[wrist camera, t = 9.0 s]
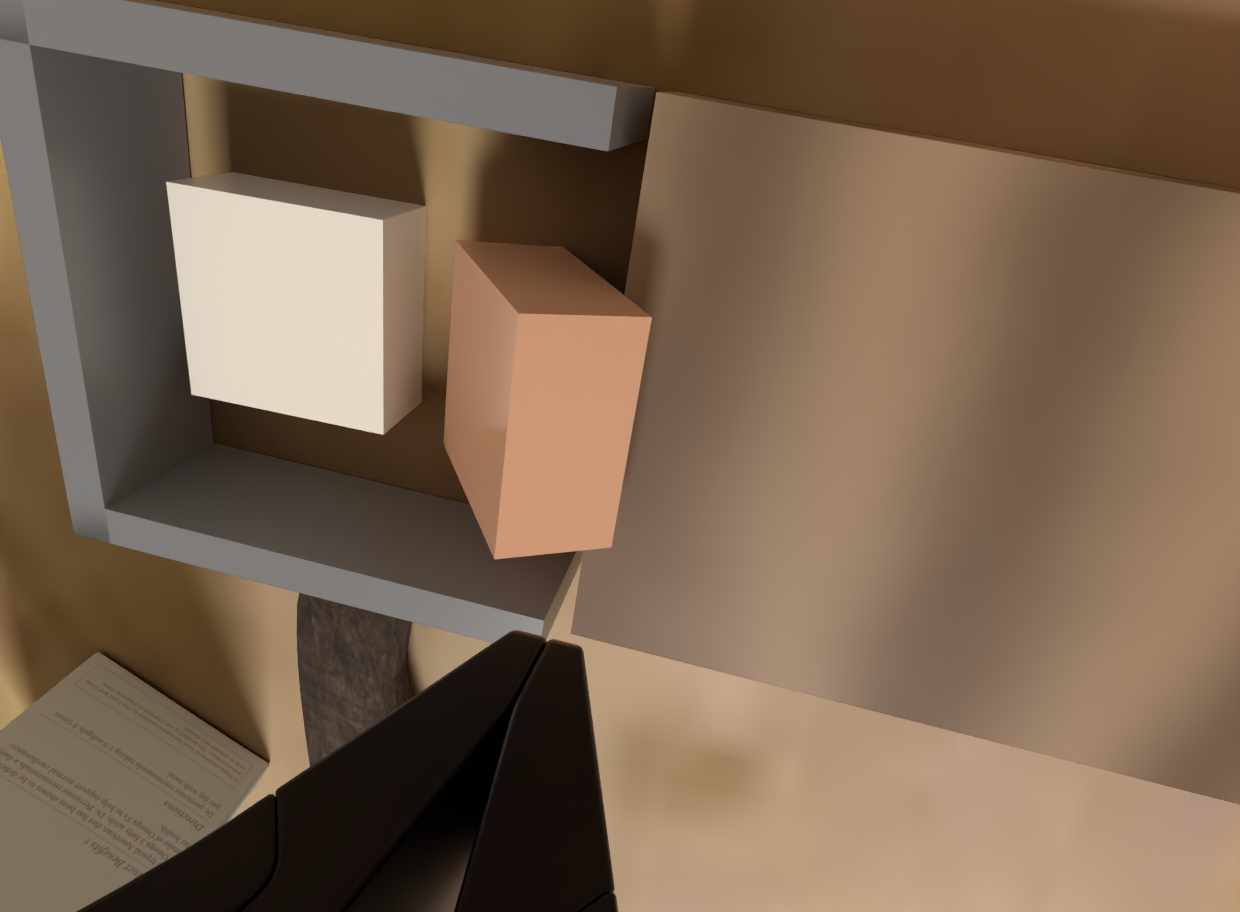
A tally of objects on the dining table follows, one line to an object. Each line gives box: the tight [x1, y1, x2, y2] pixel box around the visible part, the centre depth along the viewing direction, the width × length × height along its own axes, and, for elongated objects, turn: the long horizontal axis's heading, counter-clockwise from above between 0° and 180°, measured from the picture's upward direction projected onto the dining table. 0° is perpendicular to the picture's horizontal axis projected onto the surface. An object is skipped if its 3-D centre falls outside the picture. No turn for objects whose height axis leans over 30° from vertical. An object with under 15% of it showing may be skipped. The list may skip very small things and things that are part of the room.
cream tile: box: [166, 172, 426, 435], centre depth 19 cm, size 5×5×2 cm
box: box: [0, 0, 655, 643], centre depth 18 cm, size 12×12×4 cm
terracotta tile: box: [443, 240, 652, 559], centre depth 17 cm, size 5×5×2 cm
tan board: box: [571, 92, 1240, 804], centre depth 17 cm, size 17×12×3 cm
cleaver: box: [297, 593, 413, 767], centre depth 28 cm, size 29×10×2 cm, turn 5°
